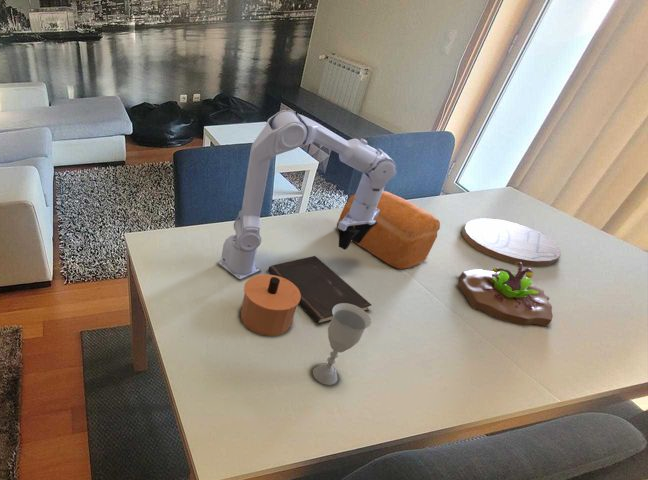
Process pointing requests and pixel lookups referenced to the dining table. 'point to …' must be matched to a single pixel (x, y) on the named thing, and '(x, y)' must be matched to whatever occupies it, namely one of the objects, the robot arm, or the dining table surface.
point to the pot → (265, 319)
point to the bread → (399, 231)
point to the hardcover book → (318, 287)
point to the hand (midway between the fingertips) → (349, 244)
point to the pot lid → (272, 292)
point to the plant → (507, 295)
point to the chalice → (342, 337)
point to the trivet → (511, 242)
